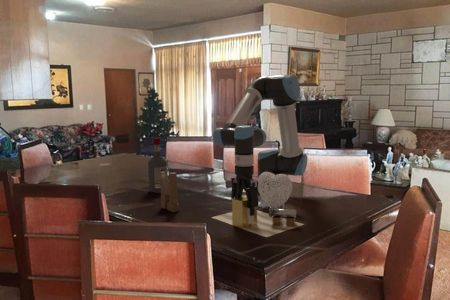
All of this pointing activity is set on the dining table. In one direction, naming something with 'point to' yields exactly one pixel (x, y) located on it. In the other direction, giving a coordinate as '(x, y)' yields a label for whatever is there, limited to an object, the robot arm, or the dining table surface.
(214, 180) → the dining table surface
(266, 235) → the board
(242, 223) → the yellow tall block
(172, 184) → the wooden block
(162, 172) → the liquor
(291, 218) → the grey brown bridge piece
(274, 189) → the decorative heart
